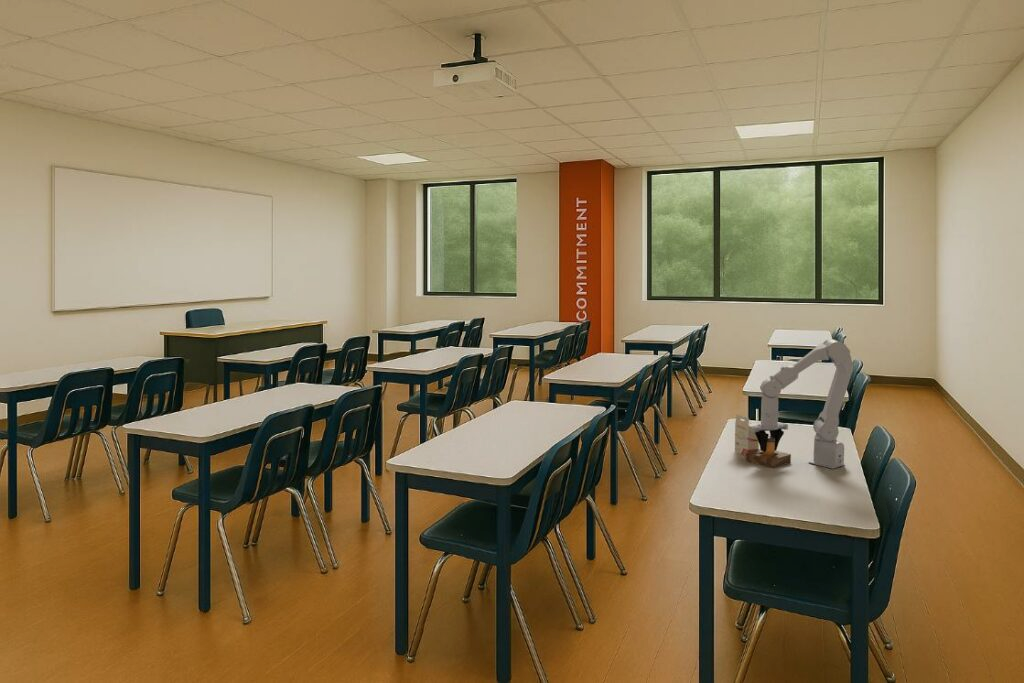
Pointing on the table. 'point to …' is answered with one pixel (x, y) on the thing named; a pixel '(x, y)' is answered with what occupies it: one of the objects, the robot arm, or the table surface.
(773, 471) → the table surface
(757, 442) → the ink cartridge box
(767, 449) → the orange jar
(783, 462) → the socket block
